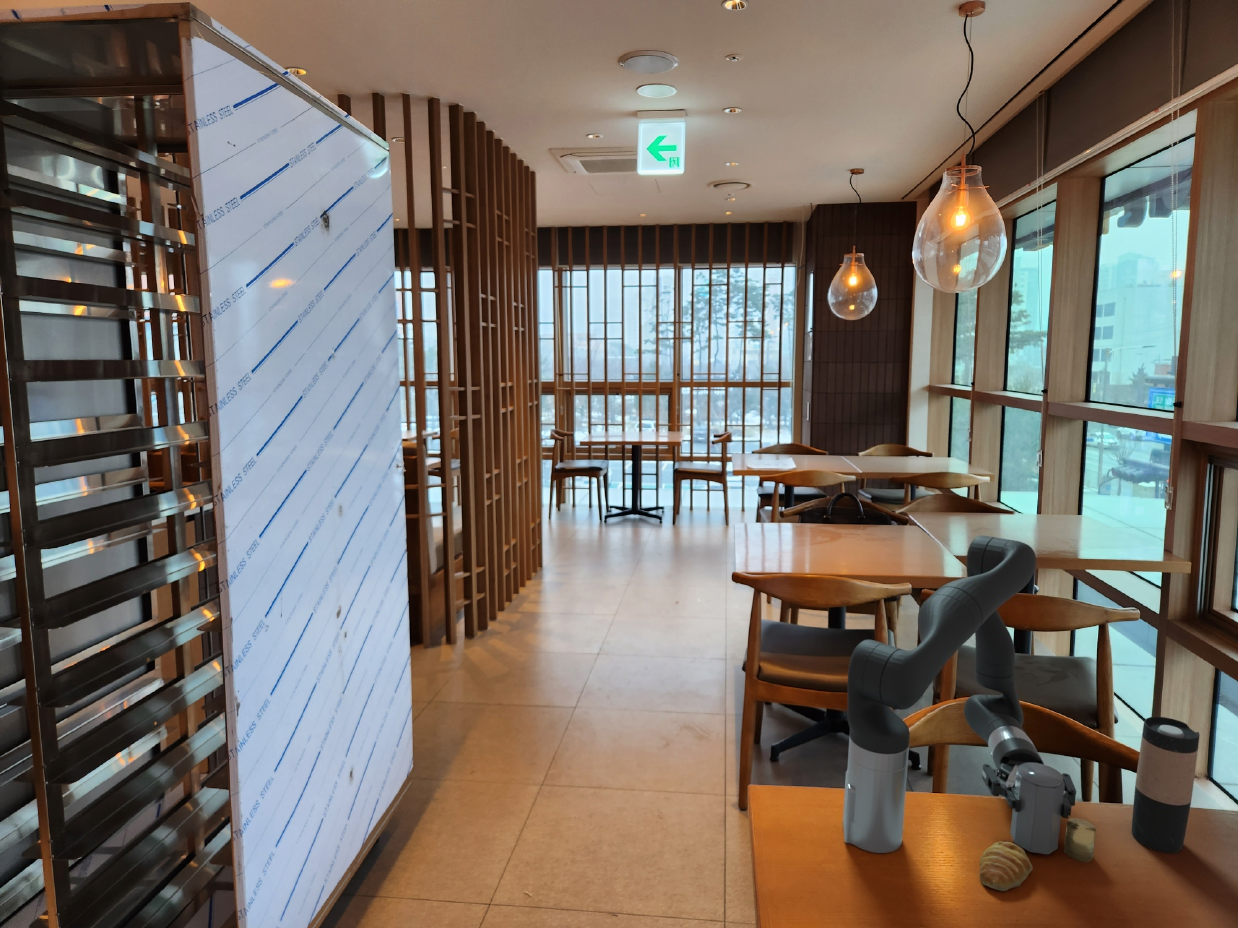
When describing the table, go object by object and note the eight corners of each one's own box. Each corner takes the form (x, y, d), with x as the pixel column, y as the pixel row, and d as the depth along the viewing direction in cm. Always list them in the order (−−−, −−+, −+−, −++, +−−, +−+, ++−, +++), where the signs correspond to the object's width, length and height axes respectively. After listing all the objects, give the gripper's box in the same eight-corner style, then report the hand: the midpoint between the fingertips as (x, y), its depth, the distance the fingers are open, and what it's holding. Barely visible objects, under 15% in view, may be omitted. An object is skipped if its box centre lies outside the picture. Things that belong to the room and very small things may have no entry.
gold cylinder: (1068, 859, 127) (1071, 831, 126) (1060, 844, 131) (1063, 816, 130) (1096, 863, 126) (1099, 834, 125) (1087, 847, 130) (1090, 819, 129)
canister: (1017, 849, 128) (1024, 781, 126) (1007, 825, 134) (1014, 760, 132) (1061, 855, 126) (1069, 786, 124) (1049, 831, 132) (1056, 765, 130)
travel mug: (1124, 839, 132) (1138, 727, 129) (1134, 819, 137) (1148, 711, 134) (1180, 860, 127) (1196, 744, 123) (1188, 838, 132) (1204, 726, 129)
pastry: (1014, 902, 117) (1016, 879, 117) (967, 881, 122) (969, 859, 121) (1033, 871, 124) (1035, 849, 124) (988, 852, 129) (990, 831, 128)
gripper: (973, 731, 144) (995, 782, 127) (1060, 741, 140) (1094, 794, 124) (970, 769, 145) (991, 825, 129) (1056, 780, 142) (1089, 837, 126)
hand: (1042, 809), depth 127 cm, fingers closed on canister, 6 cm apart
